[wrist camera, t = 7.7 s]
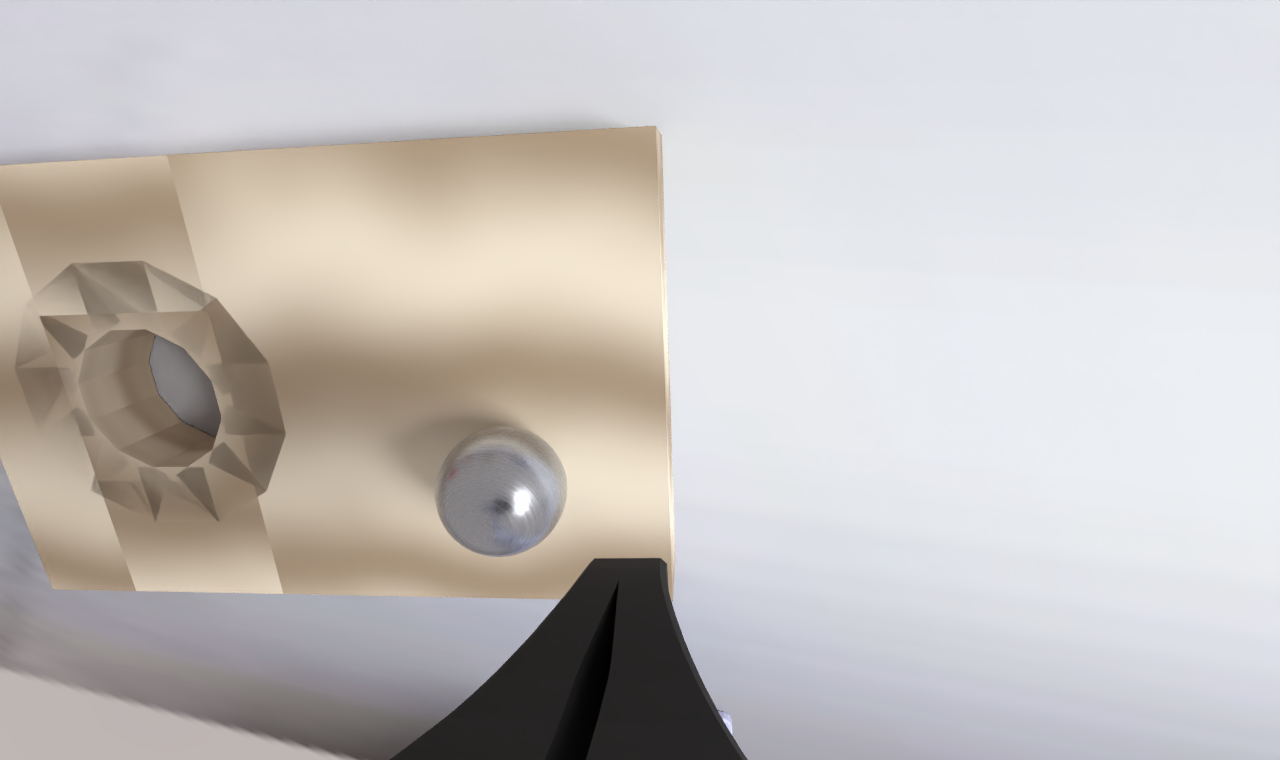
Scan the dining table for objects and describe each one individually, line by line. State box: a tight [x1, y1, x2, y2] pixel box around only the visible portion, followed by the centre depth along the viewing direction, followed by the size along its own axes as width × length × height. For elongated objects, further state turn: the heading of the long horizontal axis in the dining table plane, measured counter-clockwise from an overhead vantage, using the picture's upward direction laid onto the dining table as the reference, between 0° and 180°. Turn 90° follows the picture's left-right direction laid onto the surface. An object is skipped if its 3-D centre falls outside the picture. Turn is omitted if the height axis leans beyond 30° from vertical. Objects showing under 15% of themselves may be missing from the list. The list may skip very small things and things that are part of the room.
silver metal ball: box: [435, 426, 567, 557], centre depth 16 cm, size 4×4×4 cm
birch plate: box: [0, 126, 675, 601], centre depth 19 cm, size 14×22×2 cm, turn 93°
